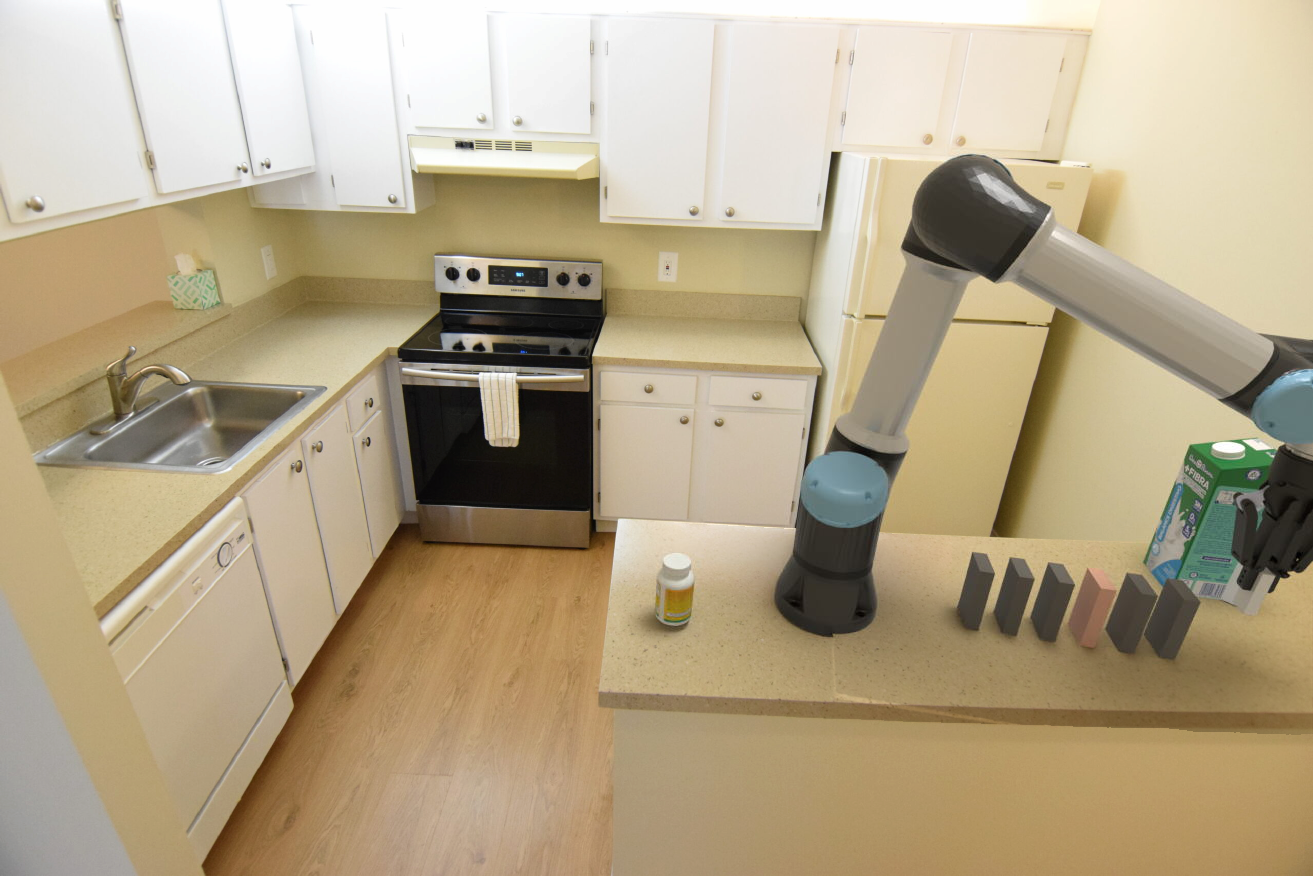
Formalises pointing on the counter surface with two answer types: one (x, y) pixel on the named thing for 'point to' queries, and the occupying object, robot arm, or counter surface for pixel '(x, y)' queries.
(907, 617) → the counter surface
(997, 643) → the counter surface
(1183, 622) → the domino
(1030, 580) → the domino
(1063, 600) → the domino
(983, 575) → the domino
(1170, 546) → the milk carton
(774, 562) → the counter surface
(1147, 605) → the domino
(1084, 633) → the domino
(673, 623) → the supplement bottle
